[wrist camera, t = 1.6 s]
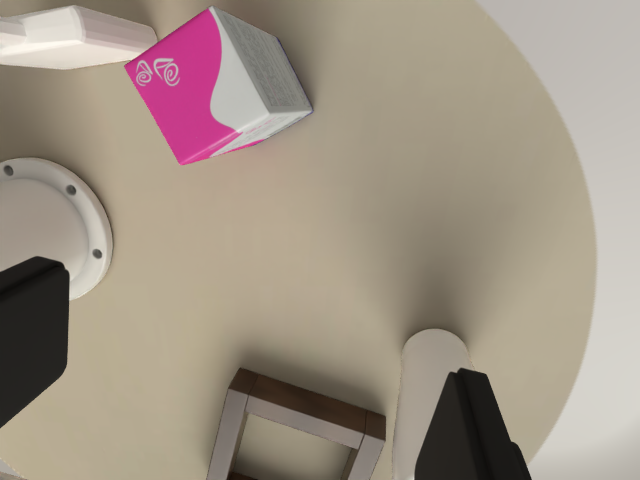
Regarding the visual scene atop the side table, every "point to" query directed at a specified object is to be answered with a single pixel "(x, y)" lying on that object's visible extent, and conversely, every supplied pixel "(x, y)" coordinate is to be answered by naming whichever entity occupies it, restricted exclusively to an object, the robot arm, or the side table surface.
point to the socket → (295, 423)
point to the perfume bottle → (71, 38)
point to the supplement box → (218, 86)
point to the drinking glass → (422, 392)
